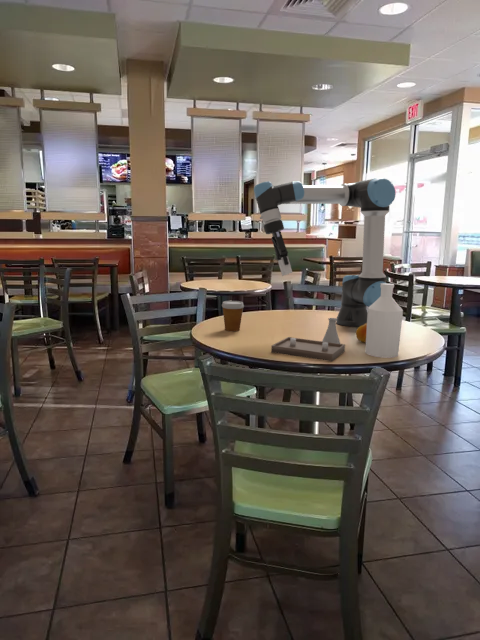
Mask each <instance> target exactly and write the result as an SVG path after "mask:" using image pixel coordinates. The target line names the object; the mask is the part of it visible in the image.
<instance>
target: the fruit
mask: <svg viewBox="0 0 480 640" xmlns="http://www.w3.org/2000/svg"><path fill="white" fill-rule="evenodd" d="M366 331H367V323H365V324H364V325H362V326H360V327H357V329H356V330H355V336H356V338H357V340H358V341H359V342H361V343H364V344H366Z"/></svg>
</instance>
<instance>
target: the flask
mask: <svg viewBox="0 0 480 640" xmlns="http://www.w3.org/2000/svg"><path fill="white" fill-rule="evenodd" d="M327 320H328V326H327V329H326V331H325V334H324V335H323V339H322V340H321V341H323V342H330V343H338V344H341V341H340V338H339V334H338V331H337V323H336V320H337V317H336V318H335V317H329V318H328V319H327Z"/></svg>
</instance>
